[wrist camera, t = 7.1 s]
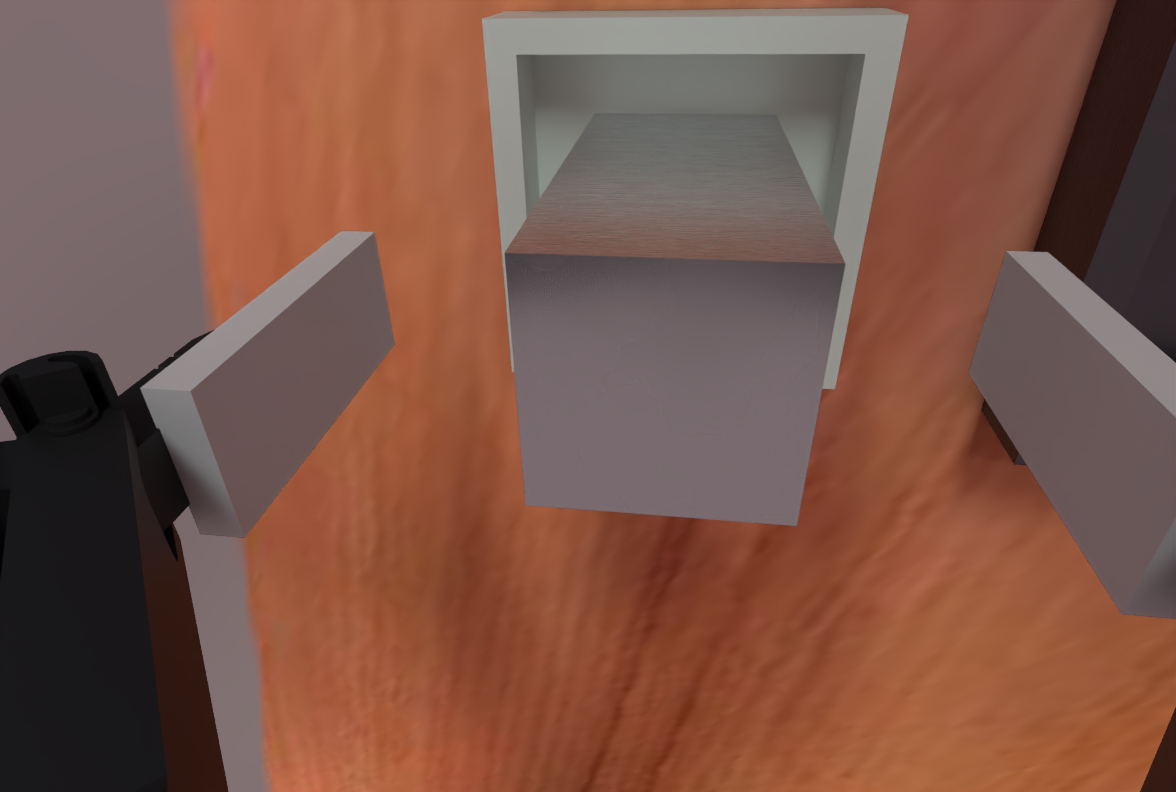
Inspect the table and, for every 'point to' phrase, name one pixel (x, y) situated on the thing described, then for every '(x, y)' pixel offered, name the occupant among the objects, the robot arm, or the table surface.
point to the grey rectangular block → (673, 321)
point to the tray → (699, 98)
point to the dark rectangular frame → (1122, 180)
